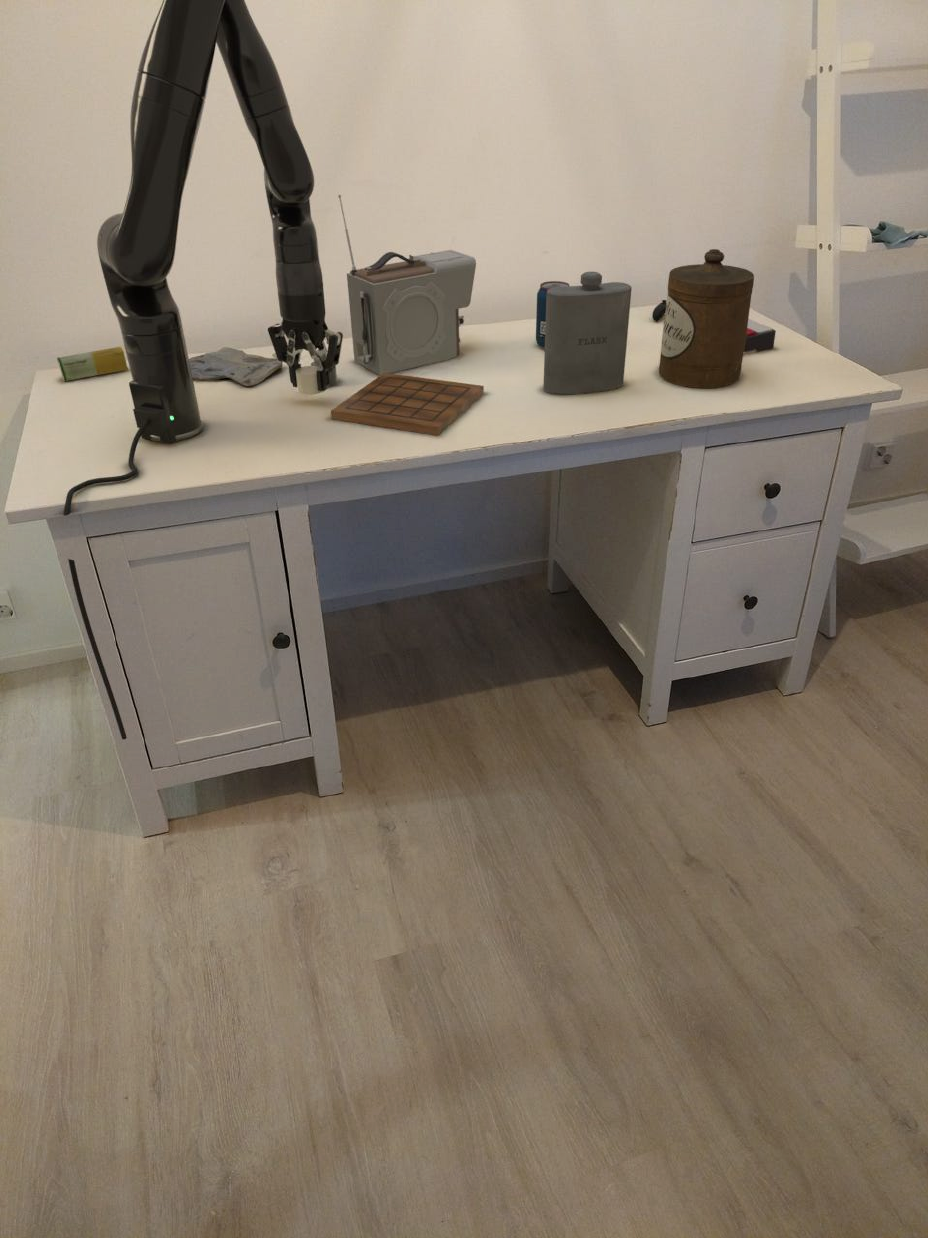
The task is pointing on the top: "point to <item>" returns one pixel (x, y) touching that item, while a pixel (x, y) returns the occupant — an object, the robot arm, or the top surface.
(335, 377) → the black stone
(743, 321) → the wooden container
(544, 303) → the soda can
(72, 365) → the medication box
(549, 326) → the flask
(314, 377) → the ivory stone
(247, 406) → the top surface
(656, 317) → the dark grey oval piece
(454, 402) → the board
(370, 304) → the portable television
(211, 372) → the fossil rock
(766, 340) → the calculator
